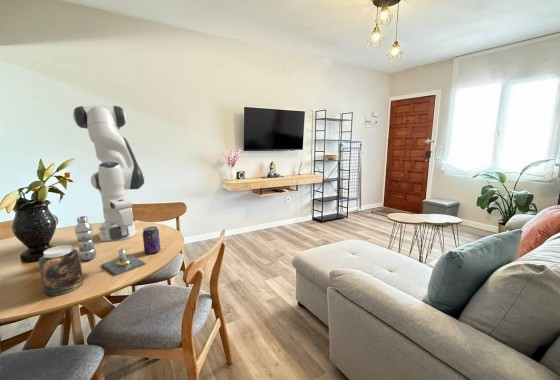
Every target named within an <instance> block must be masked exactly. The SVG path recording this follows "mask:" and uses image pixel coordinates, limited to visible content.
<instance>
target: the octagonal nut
mask: <svg viewBox="0 0 560 380" xmlns="http://www.w3.org/2000/svg"><path fill="white" fill-rule="evenodd" d="M120 231H121V228H120V226H117V227H113V228H111V229H109V233H110V239H112V240H115V241H121V240H120V239H122V240H124V239H123V238H126V239H128V238H127V237H128V236H129V231H128V226H127V230H126V232H127V234H126V235H121V233H120Z"/></svg>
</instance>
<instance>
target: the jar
mask: <svg viewBox="0 0 560 380" xmlns="http://www.w3.org/2000/svg"><path fill="white" fill-rule="evenodd" d="M38 266H39V272H40V279H41V285H42V289H43V295H45V296H47V295H48V297H54V296H55V297H56V296H62V295H65V294H69V293H70V292H73V291H75V290H77V289H79V288H80V287H81V286H82V285H84V284H83V283H84V276H83V270H82V264H81V259H80V257H79V250H78V249H75V248H73V245H71V244H61V245H55V246H53V247H48V248H47V249H45V250H44V251H43V255H42V256H41V257H40V258H39V259H38Z"/></svg>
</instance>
